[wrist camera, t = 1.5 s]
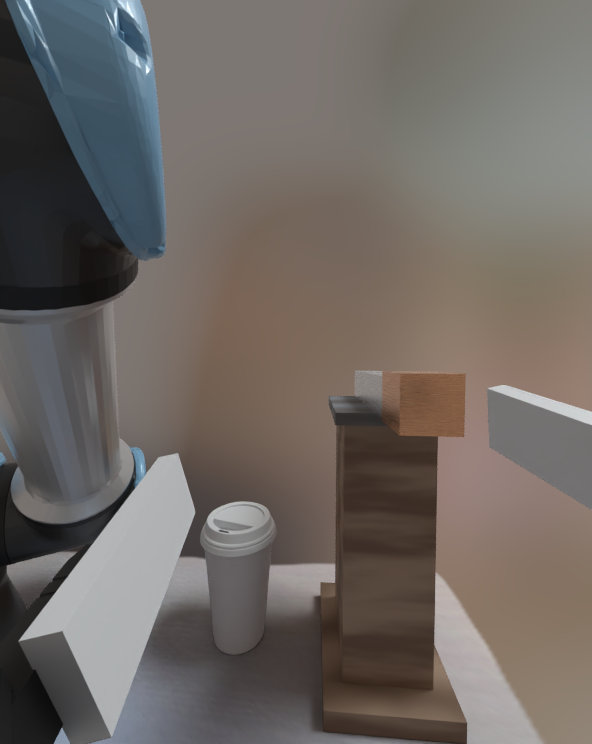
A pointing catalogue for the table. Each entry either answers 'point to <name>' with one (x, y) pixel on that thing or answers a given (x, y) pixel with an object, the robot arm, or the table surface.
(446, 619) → the table surface
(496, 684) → the table surface
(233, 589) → the coffee cup
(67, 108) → the robot arm
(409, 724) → the post
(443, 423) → the wood grain block
